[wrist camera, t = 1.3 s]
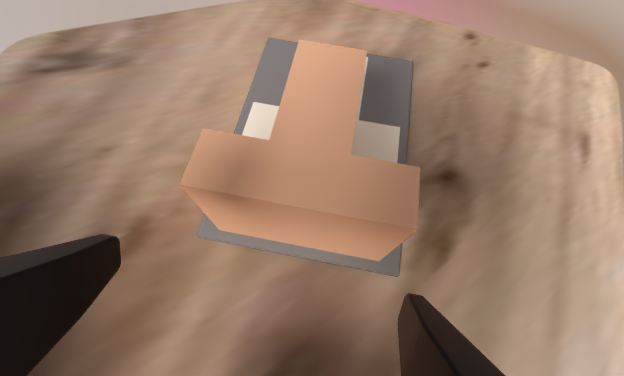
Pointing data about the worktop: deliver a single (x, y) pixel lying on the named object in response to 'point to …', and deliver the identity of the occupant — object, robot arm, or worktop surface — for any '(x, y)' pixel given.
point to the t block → (308, 168)
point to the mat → (366, 142)
